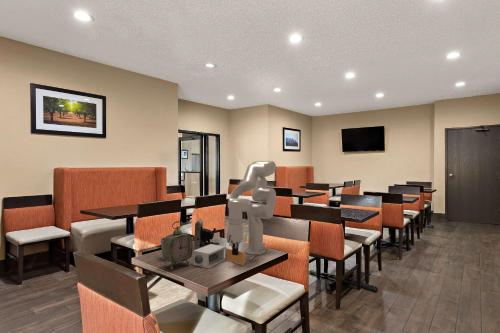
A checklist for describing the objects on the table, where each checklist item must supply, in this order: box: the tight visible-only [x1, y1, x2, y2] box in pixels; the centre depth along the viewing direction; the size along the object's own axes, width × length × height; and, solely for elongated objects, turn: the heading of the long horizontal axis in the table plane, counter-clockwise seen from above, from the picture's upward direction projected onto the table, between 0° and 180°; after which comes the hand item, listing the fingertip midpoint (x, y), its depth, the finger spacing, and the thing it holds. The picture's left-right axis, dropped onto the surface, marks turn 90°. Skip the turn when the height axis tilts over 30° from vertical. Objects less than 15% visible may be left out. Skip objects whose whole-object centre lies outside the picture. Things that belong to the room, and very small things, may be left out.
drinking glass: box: [160, 237, 168, 262], centre depth 177 cm, size 10×10×12 cm
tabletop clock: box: [163, 220, 194, 271], centre depth 163 cm, size 14×9×25 cm, turn 139°
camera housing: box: [192, 244, 227, 269], centre depth 169 cm, size 18×11×8 cm, turn 150°
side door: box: [224, 247, 245, 266], centre depth 169 cm, size 15×2×7 cm, turn 50°
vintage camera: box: [193, 219, 220, 251], centre depth 194 cm, size 10×16×20 cm, turn 89°
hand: (235, 254), depth 165 cm, fingers closed
